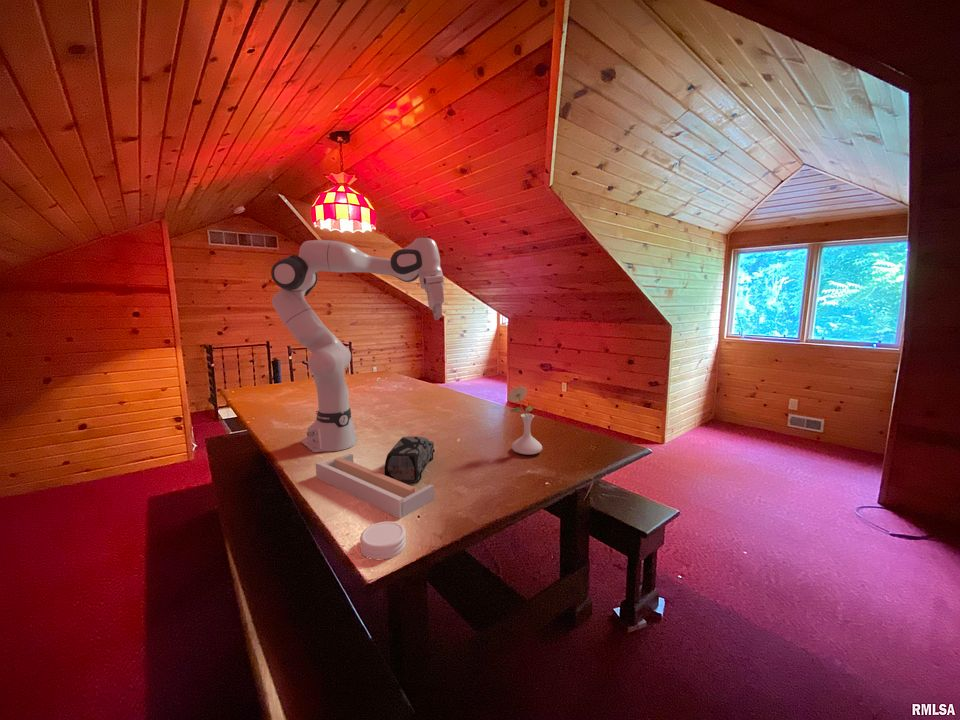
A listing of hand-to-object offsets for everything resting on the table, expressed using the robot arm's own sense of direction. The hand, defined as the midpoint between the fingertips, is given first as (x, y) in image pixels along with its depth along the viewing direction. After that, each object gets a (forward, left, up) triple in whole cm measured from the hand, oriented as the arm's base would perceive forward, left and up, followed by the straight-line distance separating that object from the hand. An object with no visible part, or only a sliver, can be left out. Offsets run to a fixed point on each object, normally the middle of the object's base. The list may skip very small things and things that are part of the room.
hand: (438, 318), depth 144 cm
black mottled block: (+8, -23, -49) cm, 55 cm away
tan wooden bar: (+9, -39, -49) cm, 63 cm away
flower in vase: (+31, +13, -49) cm, 59 cm away
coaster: (+34, -55, -49) cm, 81 cm away
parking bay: (+9, -39, -49) cm, 63 cm away
